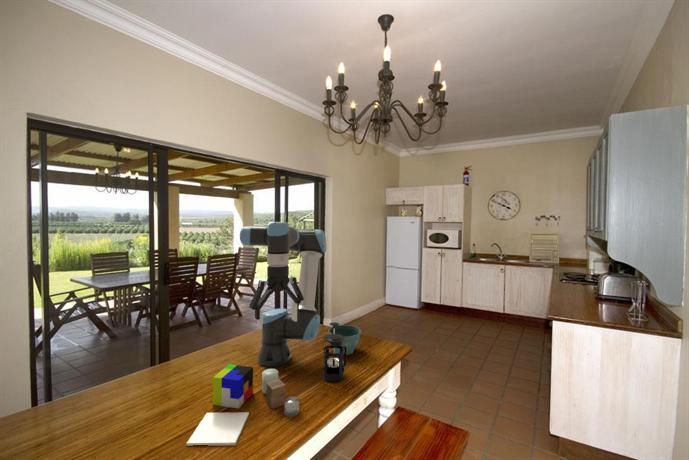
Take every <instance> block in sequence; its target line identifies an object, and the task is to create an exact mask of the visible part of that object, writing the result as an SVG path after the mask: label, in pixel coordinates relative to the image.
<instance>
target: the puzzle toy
mask: <svg viewBox="0 0 689 460" xmlns="http://www.w3.org/2000/svg"><path fill="white" fill-rule="evenodd" d="M212 387H213V388H212V398H213V399H212V405H213V406H220V407H227V408H234V409H240V408H241V407H242V405H243V404H244V403H246V401H247V400H248V399H249V398H250V396H252V394H254V367H253V366H247V365H237V364H232V363H231V364H228V365H226V366H225V367H224V368H223V369H222V370H220V371H219V372H218V373H216V375H214V376H213V377H212Z"/></svg>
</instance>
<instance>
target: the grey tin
mask: <svg viewBox="0 0 689 460" xmlns="http://www.w3.org/2000/svg"><path fill="white" fill-rule="evenodd" d="M283 413H284V416H285V417H291V418H292V417H295V416H297V415H298V414H299V413H300V399H299V398H298V397H296V396H288V397H285V400H284V405H283Z"/></svg>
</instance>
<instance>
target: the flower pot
mask: <svg viewBox="0 0 689 460" xmlns="http://www.w3.org/2000/svg"><path fill="white" fill-rule="evenodd" d="M328 334H334V328H333V326H331V327H330V328H328ZM335 334H340V335H343V336H344V337H345V339H344V343H343V345H344V346H346V356H348V355H351V354H353V353H354V351H355V349H356V348H357V346H358V345H359V342H360V337H361V329H360V328H359V327H357V326H354V325H348V324H339V325H338V326H335ZM341 346H342V345H341ZM333 350H334V353H335V354H336V353H340V349H339V348H333Z"/></svg>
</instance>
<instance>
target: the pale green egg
mask: <svg viewBox="0 0 689 460" xmlns="http://www.w3.org/2000/svg"><path fill="white" fill-rule="evenodd" d="M278 379H279V370H278V369H276V368H267V369H264V370H263V371H262V373H261V387H262V388H261V392H262V394H264V395H266V383H269V382H272V381H275V380H278Z"/></svg>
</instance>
